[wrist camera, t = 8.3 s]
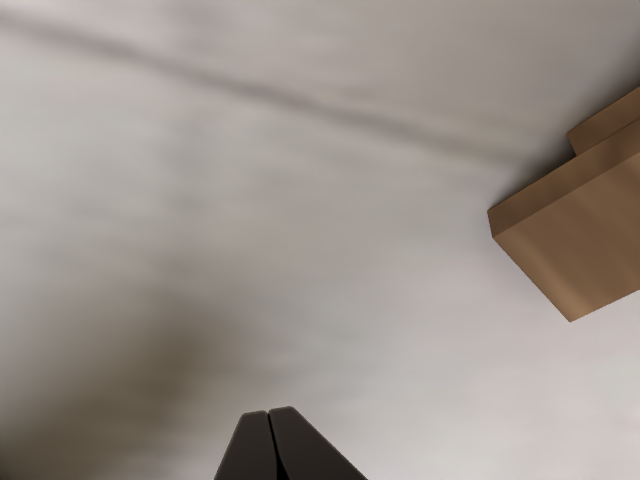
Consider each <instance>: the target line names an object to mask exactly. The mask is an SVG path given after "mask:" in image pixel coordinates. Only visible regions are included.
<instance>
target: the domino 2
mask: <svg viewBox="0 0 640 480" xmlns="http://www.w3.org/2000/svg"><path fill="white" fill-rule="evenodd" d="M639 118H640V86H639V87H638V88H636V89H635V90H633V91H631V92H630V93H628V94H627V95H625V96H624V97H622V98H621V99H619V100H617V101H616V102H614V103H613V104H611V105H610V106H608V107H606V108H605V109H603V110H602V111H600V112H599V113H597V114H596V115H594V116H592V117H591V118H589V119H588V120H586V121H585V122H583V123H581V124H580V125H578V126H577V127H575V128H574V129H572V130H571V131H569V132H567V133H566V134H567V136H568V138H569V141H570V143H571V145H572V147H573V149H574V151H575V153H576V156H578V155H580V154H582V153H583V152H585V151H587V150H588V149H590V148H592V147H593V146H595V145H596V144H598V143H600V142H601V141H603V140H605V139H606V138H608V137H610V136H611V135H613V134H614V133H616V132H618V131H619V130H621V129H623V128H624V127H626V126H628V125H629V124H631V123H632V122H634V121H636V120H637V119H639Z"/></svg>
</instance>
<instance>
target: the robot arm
mask: <svg viewBox="0 0 640 480" xmlns="http://www.w3.org/2000/svg"><path fill="white" fill-rule="evenodd" d="M214 480H368V479H367V478H366V477H365V476H364V475H363V474H362V473H361V472H360V471H358V470H357V469H356V468H355V467H354V466H353V465H352V464H351V463H350V462H349V461H348V460H347V459H346V458H345V457H344V456H343V455H342V454H341V453H340V452H339V451H338V450H337V449H336V448H335V447H334V446H333V445H332V444H331V443H330V442H329V441H328V440H327V439H326V438H324V437H323V436H322V435H321V434H320V433H319V432H318V431H317V430H316V429H315V428H314V427H313V426H312V425H311V424H310V423H309V422H308V421H307V420H306V419H305V418H304V417H303V416H302V415H301V414H300V413H299V412H298V411H297V410H296V409H295V408H293V407H291V406H288V407H282V408H275V409H271V410H269V412H268V414H267V412H266V411H263V410H262V411H256V412H250V413H244V414H243V415H242V416H241V417H240V420H239V422H238V424H237V427H236V429H235V431H234V433H233V436H232V438H231V440H230V443H229V445H228V447H227V450H226V452H225V454H224V457H223V459H222V461H221V464H220V466H219V468H218V471H217V473H216V475H215V478H214Z"/></svg>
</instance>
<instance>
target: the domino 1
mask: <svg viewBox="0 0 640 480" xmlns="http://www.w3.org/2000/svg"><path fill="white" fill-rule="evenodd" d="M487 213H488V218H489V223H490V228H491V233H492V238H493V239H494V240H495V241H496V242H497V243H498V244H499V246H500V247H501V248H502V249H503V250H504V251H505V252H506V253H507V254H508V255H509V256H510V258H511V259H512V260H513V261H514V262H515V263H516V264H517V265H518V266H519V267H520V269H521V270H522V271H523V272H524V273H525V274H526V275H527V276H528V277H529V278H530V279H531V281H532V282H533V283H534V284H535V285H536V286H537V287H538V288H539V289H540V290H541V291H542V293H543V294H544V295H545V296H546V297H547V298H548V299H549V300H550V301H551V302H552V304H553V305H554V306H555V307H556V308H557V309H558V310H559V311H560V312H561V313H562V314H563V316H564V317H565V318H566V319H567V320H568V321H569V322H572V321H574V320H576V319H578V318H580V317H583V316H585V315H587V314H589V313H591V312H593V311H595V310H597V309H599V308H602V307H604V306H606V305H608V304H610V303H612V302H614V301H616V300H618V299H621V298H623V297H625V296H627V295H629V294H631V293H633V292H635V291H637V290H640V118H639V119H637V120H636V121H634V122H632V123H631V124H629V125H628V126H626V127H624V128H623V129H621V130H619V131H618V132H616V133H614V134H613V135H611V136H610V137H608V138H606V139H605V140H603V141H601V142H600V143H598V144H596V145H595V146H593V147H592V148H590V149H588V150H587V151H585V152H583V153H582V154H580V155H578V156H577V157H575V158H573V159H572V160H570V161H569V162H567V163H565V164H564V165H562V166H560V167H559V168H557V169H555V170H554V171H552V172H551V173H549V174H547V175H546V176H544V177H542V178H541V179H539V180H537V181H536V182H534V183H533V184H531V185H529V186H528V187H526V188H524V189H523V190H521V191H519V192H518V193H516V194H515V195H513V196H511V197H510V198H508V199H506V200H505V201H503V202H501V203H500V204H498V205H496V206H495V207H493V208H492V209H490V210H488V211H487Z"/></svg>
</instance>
